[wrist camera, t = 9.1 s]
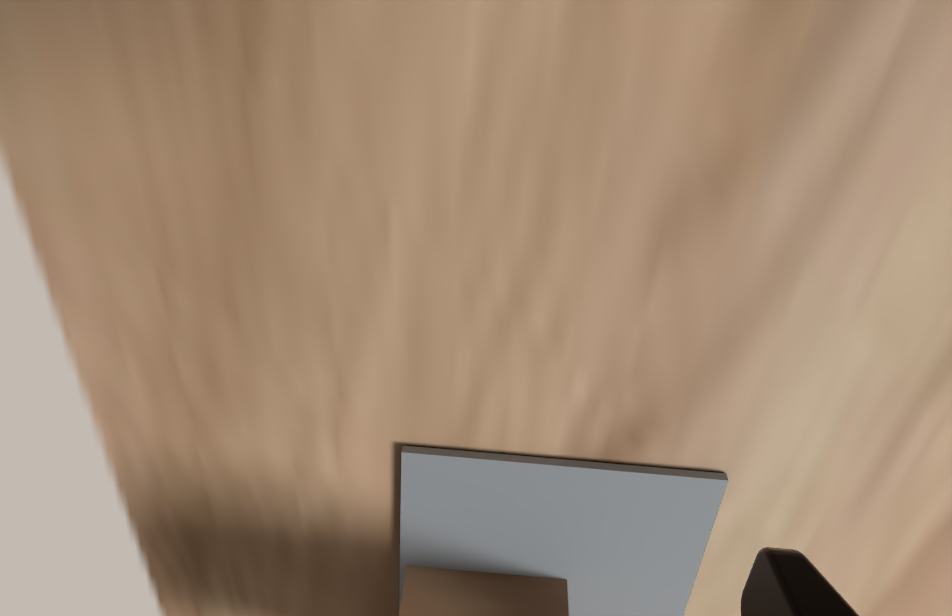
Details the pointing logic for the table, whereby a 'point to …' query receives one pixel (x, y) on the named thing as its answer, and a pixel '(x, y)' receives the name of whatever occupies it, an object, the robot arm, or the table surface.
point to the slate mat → (561, 525)
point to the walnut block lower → (480, 594)
